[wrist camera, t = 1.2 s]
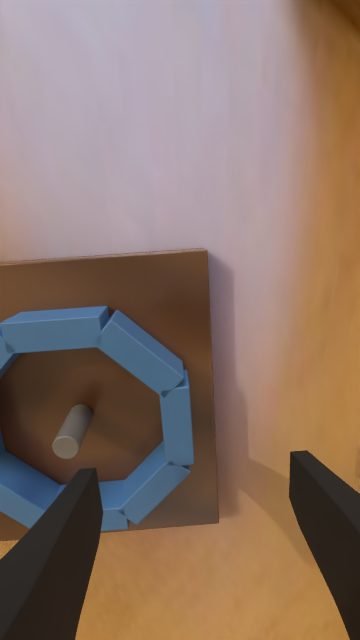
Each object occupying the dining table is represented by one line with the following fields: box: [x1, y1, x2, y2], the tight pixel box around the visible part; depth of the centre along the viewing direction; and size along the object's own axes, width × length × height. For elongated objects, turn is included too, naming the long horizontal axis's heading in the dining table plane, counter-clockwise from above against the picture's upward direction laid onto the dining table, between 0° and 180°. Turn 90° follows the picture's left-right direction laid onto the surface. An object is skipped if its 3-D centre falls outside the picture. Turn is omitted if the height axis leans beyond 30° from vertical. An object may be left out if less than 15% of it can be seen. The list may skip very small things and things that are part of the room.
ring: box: [0, 306, 194, 531], centre depth 16 cm, size 11×11×2 cm
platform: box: [0, 248, 219, 541], centre depth 17 cm, size 16×14×4 cm
